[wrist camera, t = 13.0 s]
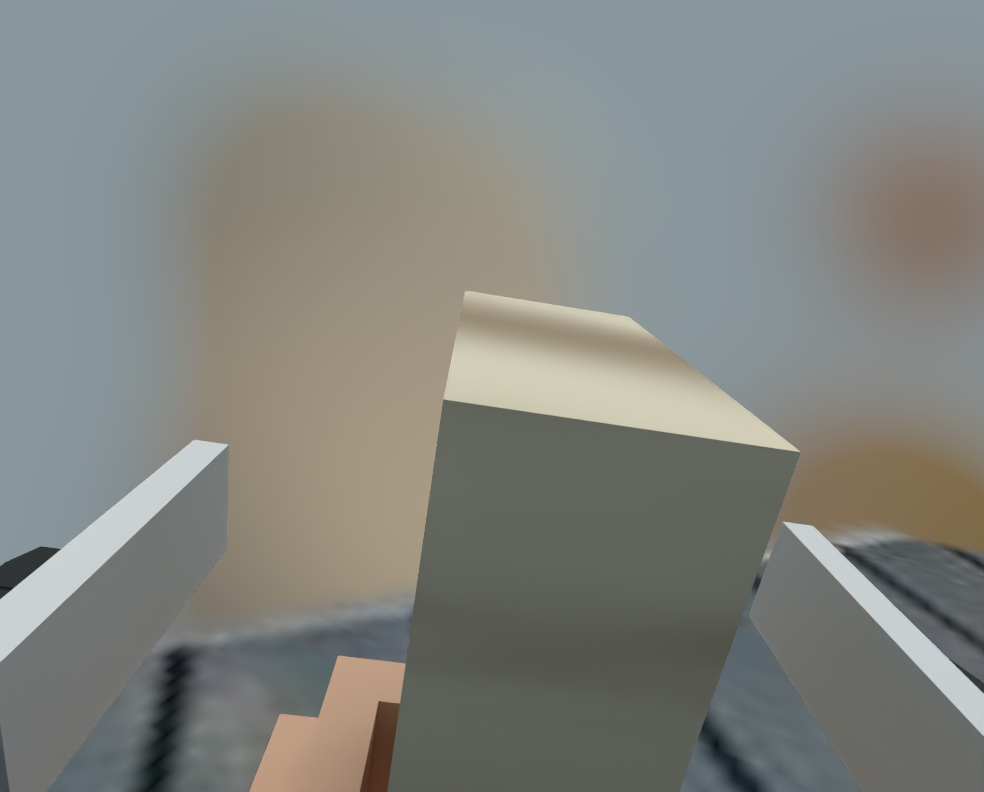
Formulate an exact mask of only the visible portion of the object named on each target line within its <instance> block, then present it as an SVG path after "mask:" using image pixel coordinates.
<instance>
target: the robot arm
mask: <svg viewBox="0 0 984 792" xmlns="http://www.w3.org/2000/svg"><path fill="white" fill-rule="evenodd" d="M228 457H229V445H227V444H220V443H212V442H206V441H198V440H194V441H192V442H191V443H190V444H189V445H187V446H186V447H185V448H184V449H183V450H181V451H180V452H179V453H178V454H176V455H175V456H174V457H173V458H172V459H170V460H169V461H168V462H167V463H165V464H164V465H163V466H162V467H161V468H159V469H158V470H157V471H156V472H155V473H153V474H152V475H151V476H150V477H148V478H147V479H146V480H145V481H144V482H142V483H141V484H140V485H139V486H138V487H136V488H135V489H134V490H133V491H131V492H130V493H129V494H128V495H127V496H125V497H124V498H123V499H122V500H121V501H119V502H118V503H117V504H116V505H114V506H113V507H112V508H111V509H110V510H108V511H107V512H106V513H105V514H103V515H102V516H101V517H100V518H99V519H97V520H96V521H95V522H94V523H93V524H91V525H90V526H89V527H88V528H86V529H85V530H84V531H83V532H82V533H80V534H79V535H78V536H77V537H75V538H74V539H73V540H72V541H71V542H69V543H68V544H67V545H66V546H65V547H63V548H62V549H56V548H48V547H39V548H37V549H34V550H32V551H30V552H28V553H25V554H23V555H21V556H19V557H16V558H14V559H12V560H10V561H8V562H5V563H4V564H3V565H1V566H0V792H47V791H48V790H49V788H50V787H51V785H52V784H53V783H54V781H55V780H56V779H57V777H58V776H59V775H60V773H61V772H62V771H63V769H64V768H65V767H66V765H67V764H68V763H69V761H70V760H71V758H72V757H73V756H74V754H75V753H76V752H77V750H78V749H79V748H80V746H81V745H82V744H83V742H84V741H85V740H86V738H87V737H88V736H89V734H90V733H91V731H92V730H93V729H94V727H95V726H96V725H97V723H98V722H99V721H100V719H101V718H102V717H103V715H104V714H105V713H106V711H107V710H108V708H109V707H110V706H111V704H112V703H113V702H114V700H115V699H116V698H117V696H118V695H119V694H120V692H121V691H122V690H123V688H124V687H125V686H126V684H127V683H128V681H129V680H130V679H131V677H132V676H133V675H134V673H135V672H136V671H137V669H138V668H139V667H140V665H141V664H142V663H143V661H144V660H145V659H146V657H147V656H148V654H149V653H150V652H151V650H152V649H153V648H154V646H155V645H156V644H157V642H158V641H159V640H160V638H161V637H162V636H163V634H164V633H165V632H166V630H167V629H168V627H169V626H170V625H171V623H172V622H173V621H174V619H175V618H176V617H177V615H178V614H179V613H180V611H181V610H182V609H183V607H184V606H185V604H186V603H187V602H188V600H189V599H190V598H191V596H192V595H193V594H194V592H195V591H196V589H197V588H198V587H199V586H200V584H201V583H202V582H203V580H204V579H205V577H206V576H207V575H208V573H209V572H210V571H211V569H212V568H213V567H214V565H215V564H216V563H217V561H218V560H219V558H220V557H221V556H222V554H223V553H224V552H225V550H226V549H227V507H228V506H227V505H228ZM749 617H750V618H751V620H752V622H753V623H754V625H755V626H756V628H757V629H758V631H759V633H760V634H761V636H762V637H763V639H764V640H765V642H766V643H767V645H768V647H769V648H770V650H771V651H772V653H773V654H774V656H775V657H776V659H777V661H778V662H779V664H780V665H781V667H782V668H783V670H784V671H785V673H786V675H787V676H788V678H789V679H790V681H791V682H792V684H793V685H794V687H795V689H796V690H797V692H798V693H799V695H800V696H801V698H802V699H803V701H804V703H805V704H806V706H807V707H808V709H809V710H810V712H811V713H812V715H813V717H814V718H815V720H816V721H817V723H818V724H819V726H820V727H821V729H822V731H823V732H824V734H825V735H826V737H827V738H828V740H829V742H830V743H831V745H832V746H833V748H834V749H835V751H836V752H837V754H838V756H839V757H840V759H841V760H842V762H843V763H844V765H845V766H846V768H847V770H848V771H849V773H850V774H851V776H852V777H853V779H854V780H855V782H856V784H857V785H858V787H859V788H860V790H861V791H862V792H984V684H983V683H982V682H981V681H980V680H979V679H977V678H976V677H974V676H973V675H972V674H970V673H969V672H967V671H966V670H964V669H963V668H962V667H960V666H959V665H957V664H956V663H954V662H953V661H952V660H950V659H948V658H947V657H946V656H945V655H944V654H943V653H942V652H941V651H940V650H939V649H938V648H937V647H936V646H935V645H934V644H933V643H932V642H931V641H930V640H929V639H928V638H927V637H925V636H924V635H923V634H922V633H921V632H920V631H919V630H918V629H917V628H916V627H915V626H914V625H913V624H912V623H911V622H910V621H909V620H908V619H907V618H906V617H905V616H904V615H903V614H902V613H901V612H900V611H899V610H898V609H897V608H896V607H895V606H894V605H893V604H892V603H891V602H890V601H889V600H888V599H887V598H886V597H885V596H884V595H883V594H882V593H881V592H880V591H879V590H878V589H877V588H876V587H875V586H874V585H873V584H872V583H870V582H869V581H868V580H867V579H866V578H865V577H864V576H863V575H862V574H861V573H860V572H859V571H858V570H857V569H856V568H855V567H854V566H853V565H852V564H851V563H850V562H849V561H848V560H847V559H846V558H845V557H844V556H843V555H842V554H841V553H840V552H839V551H838V550H837V549H836V548H835V547H834V546H833V545H832V544H831V543H830V542H829V541H828V540H827V539H826V538H825V537H824V536H823V535H822V534H821V533H820V532H819V531H818V530H816V529H815V528H814V527H813V526H809V525H802V524H795V523H788V522H783V523H782V525H781V528H780V531H779V533H778V536H777V539H776V542H775V544H774V547H773V550H772V553H771V555H770V558H769V561H768V564H767V566H766V569H765V572H764V575H763V577H762V580H761V583H760V586H759V588H758V591H757V594H756V597H755V599H754V602H753V605H752V608H751V610H750V613H749Z"/></svg>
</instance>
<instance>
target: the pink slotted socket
mask: <svg viewBox="0 0 984 792" xmlns="http://www.w3.org/2000/svg"><path fill="white" fill-rule="evenodd" d="M405 665H406V664H405V663H396V662H388V661H379V660H371V659H362V658H354V657H345V656H338V658H337V661H336V664H335V667H334V671H333V674H332V677H331V680H330V683H329V686H328V689H327V692H326V696H325V699H324V702H323V705H322V708H321V711H320V714H319V718H313V717H304V716H295V715H286V714H280V716H279V718H278V721H277V723H276V726H275V728H274V731H273V733H272V736H271V738H270V741H269V743H268V746H267V748H266V751H265V753H264V756H263V758H262V761H261V763H260V766H259V768H258V771H257V774H256V776H255V779H254V781H253V784H252V786H251V789H250V791H249V792H387V791H388V784H389V777H390V770H391V763H392V756H393V749H394V742H395V735H396V728H397V721H398V714H399V707H400V700H401V693H402V686H403V679H404V672H405Z"/></svg>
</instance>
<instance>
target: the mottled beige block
mask: <svg viewBox="0 0 984 792" xmlns="http://www.w3.org/2000/svg"><path fill="white" fill-rule="evenodd" d="M799 455H800V451H799V450H797V449H796V448H795V447H794V446H792V445H791V444H790V443H788V442H787V441H786V440H785V439H783V438H782V437H781V436H780V435H778V434H777V433H776V432H774V431H773V430H772V429H771V428H769V427H768V426H767V425H765V424H764V423H763V422H762V421H761V420H759V419H758V418H757V417H755V416H754V415H753V414H752V413H750V412H749V411H748V410H747V409H745V408H744V407H743V406H741V405H740V404H739V403H738V402H736V401H735V400H734V399H732V398H731V397H730V396H729V395H728V394H726V393H725V392H724V391H722V390H721V389H720V388H719V387H717V386H716V385H715V384H714V383H712V382H711V381H710V380H708V379H707V378H706V377H705V376H703V375H702V374H701V373H700V372H698V371H697V370H696V369H694V368H693V367H692V366H691V365H689V364H688V363H687V362H686V361H684V360H683V359H681V358H680V357H679V356H678V355H677V354H675V353H674V352H673V351H672V350H670V349H669V348H667V347H666V346H665V345H664V344H662V343H661V342H660V341H659V340H658V339H656V338H655V337H654V336H652V335H651V334H650V333H649V332H647V331H646V330H645V329H644V328H642V327H641V326H640V325H639V324H637V323H636V322H634V321H633V320H632V319H631V318H629V317H626V316H620V315H614V314H608V313H602V312H595V311H589V310H583V309H576V308H570V307H564V306H558V305H551V304H545V303H539V302H532V301H526V300H520V299H514V298H507V297H502V296H495V295H489V294H483V293H477V292H471V291H465V295H464V300H463V305H462V310H461V315H460V320H459V325H458V330H457V335H456V340H455V345H454V350H453V355H452V359H451V365H450V370H449V374H448V379H447V384H446V389H445V394H444V399H443V406H442V413H441V420H440V428H439V434H438V441H437V448H436V456H435V462H434V469H433V476H432V483H431V490H430V498H429V505H428V511H427V518H426V525H425V532H424V539H423V547H422V553H421V560H420V567H419V574H418V581H417V588H416V595H415V602H414V609H413V616H412V623H411V630H410V637H409V644H408V651H407V658H406V665H405V672H404V679H403V686H402V693H401V700H400V707H399V714H398V721H397V728H396V735H395V742H394V749H393V756H392V763H391V770H390V777H389V784H388V791H387V792H679V789H680V787H681V784H682V781H683V778H684V775H685V773H686V770H687V767H688V764H689V762H690V759H691V756H692V753H693V750H694V748H695V745H696V742H697V739H698V736H699V734H700V731H701V728H702V725H703V723H704V720H705V717H706V714H707V711H708V709H709V706H710V703H711V700H712V698H713V695H714V692H715V689H716V686H717V684H718V681H719V678H720V675H721V673H722V670H723V667H724V664H725V661H726V659H727V656H728V653H729V650H730V647H731V645H732V642H733V639H734V636H735V634H736V631H737V628H738V625H739V622H740V620H741V617H742V614H743V611H744V609H745V606H746V603H747V600H748V597H749V595H750V592H751V589H752V586H753V584H754V581H755V578H756V575H757V572H758V570H759V567H760V564H761V561H762V558H763V556H764V553H765V550H766V547H767V545H768V542H769V539H770V536H771V533H772V531H773V528H774V525H775V522H776V519H777V517H778V514H779V511H780V508H781V506H782V503H783V500H784V497H785V494H786V491H787V489H788V486H789V483H790V480H791V478H792V475H793V472H794V469H795V467H796V464H797V461H798V458H799Z"/></svg>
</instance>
